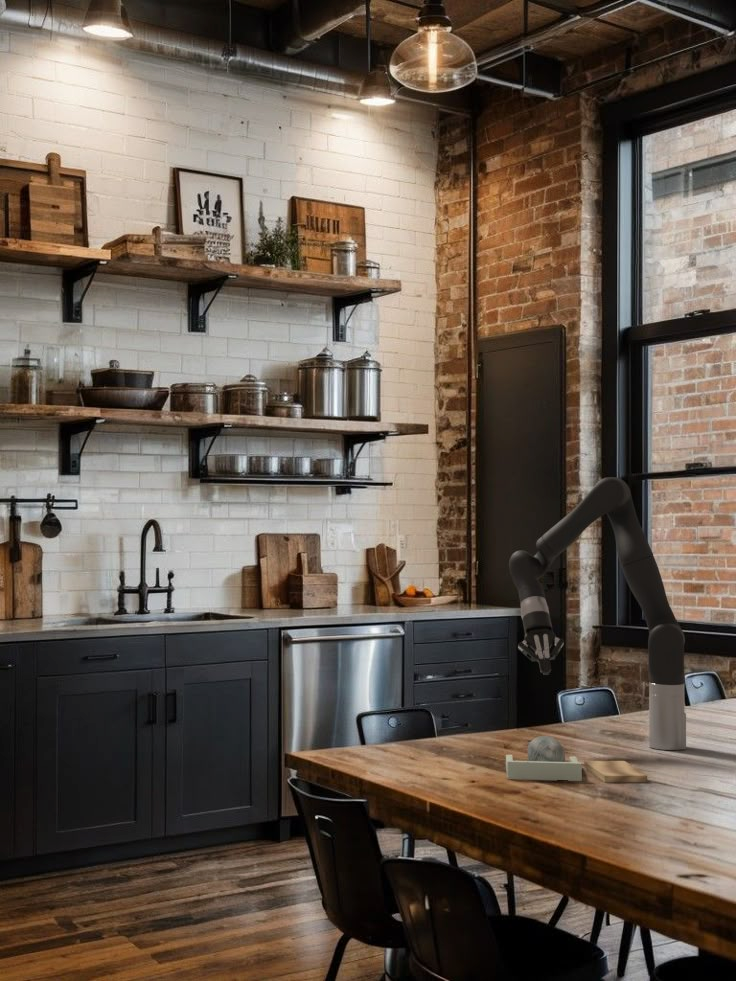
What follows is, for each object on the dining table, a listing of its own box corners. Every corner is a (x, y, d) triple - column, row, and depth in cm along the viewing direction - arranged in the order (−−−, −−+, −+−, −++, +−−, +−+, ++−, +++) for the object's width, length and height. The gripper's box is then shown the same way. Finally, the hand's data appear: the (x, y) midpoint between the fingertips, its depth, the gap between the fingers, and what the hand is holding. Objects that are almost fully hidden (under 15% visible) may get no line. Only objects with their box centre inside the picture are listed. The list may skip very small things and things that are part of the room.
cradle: (575, 766, 295) (575, 750, 296) (581, 781, 278) (581, 763, 278) (505, 764, 297) (505, 748, 297) (507, 779, 280) (507, 761, 280)
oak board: (624, 767, 296) (624, 760, 296) (647, 782, 278) (647, 775, 278) (584, 767, 295) (584, 761, 295) (604, 782, 277) (604, 775, 277)
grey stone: (523, 750, 298) (541, 718, 295) (557, 769, 297) (576, 737, 294) (514, 774, 285) (532, 740, 282) (550, 794, 284) (569, 760, 281)
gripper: (512, 612, 327) (522, 669, 317) (561, 607, 327) (572, 664, 317) (511, 625, 333) (520, 682, 323) (558, 621, 334) (569, 677, 323)
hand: (546, 673), depth 320 cm, fingers closed
